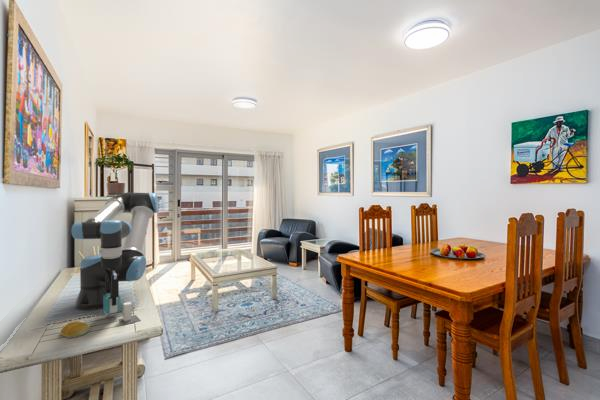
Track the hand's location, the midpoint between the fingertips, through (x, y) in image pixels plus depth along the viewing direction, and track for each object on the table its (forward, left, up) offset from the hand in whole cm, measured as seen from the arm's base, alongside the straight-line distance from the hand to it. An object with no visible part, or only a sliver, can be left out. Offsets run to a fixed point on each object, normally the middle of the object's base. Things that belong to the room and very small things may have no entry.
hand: (111, 309), depth 128 cm
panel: (+8, +5, -3) cm, 10 cm away
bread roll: (+7, -14, -4) cm, 16 cm away
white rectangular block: (+7, +4, -3) cm, 9 cm away
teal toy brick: (0, 0, 0) cm, 0 cm away
